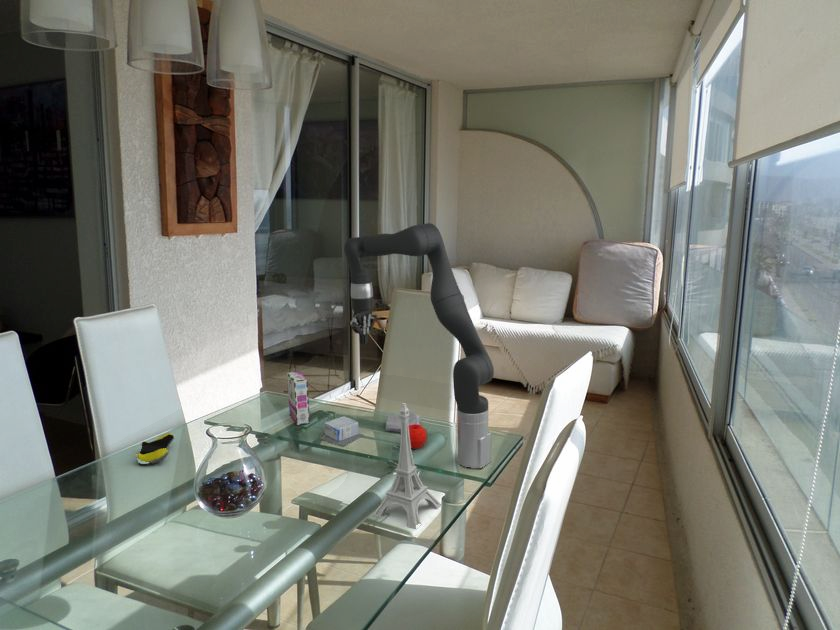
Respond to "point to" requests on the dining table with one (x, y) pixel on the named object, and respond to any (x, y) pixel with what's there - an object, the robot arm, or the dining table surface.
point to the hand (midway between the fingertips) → (364, 344)
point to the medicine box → (341, 428)
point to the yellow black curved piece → (155, 449)
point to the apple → (417, 436)
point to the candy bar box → (298, 398)
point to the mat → (342, 442)
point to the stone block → (395, 422)
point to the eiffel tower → (406, 480)
